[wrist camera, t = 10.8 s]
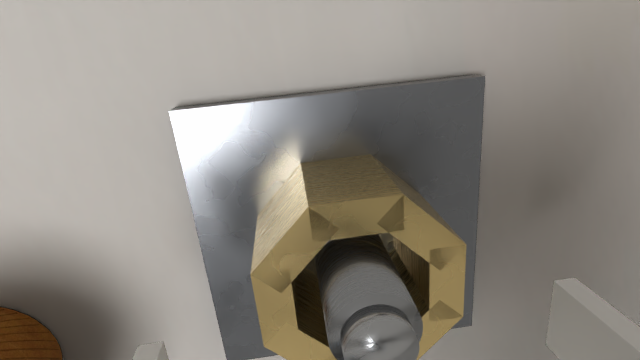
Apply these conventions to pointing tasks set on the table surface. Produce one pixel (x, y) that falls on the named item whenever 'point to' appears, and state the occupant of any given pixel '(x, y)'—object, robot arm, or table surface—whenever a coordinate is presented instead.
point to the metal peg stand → (323, 144)
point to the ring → (345, 222)
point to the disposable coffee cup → (25, 338)
